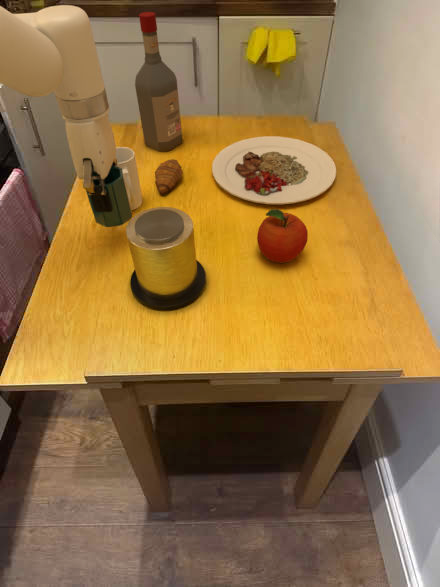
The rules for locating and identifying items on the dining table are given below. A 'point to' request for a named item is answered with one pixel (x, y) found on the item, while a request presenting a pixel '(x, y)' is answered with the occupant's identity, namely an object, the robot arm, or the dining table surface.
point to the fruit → (281, 236)
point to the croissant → (167, 175)
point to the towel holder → (164, 259)
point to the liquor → (157, 93)
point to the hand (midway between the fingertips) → (109, 197)
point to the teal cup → (114, 199)
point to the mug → (130, 175)
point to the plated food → (274, 170)
